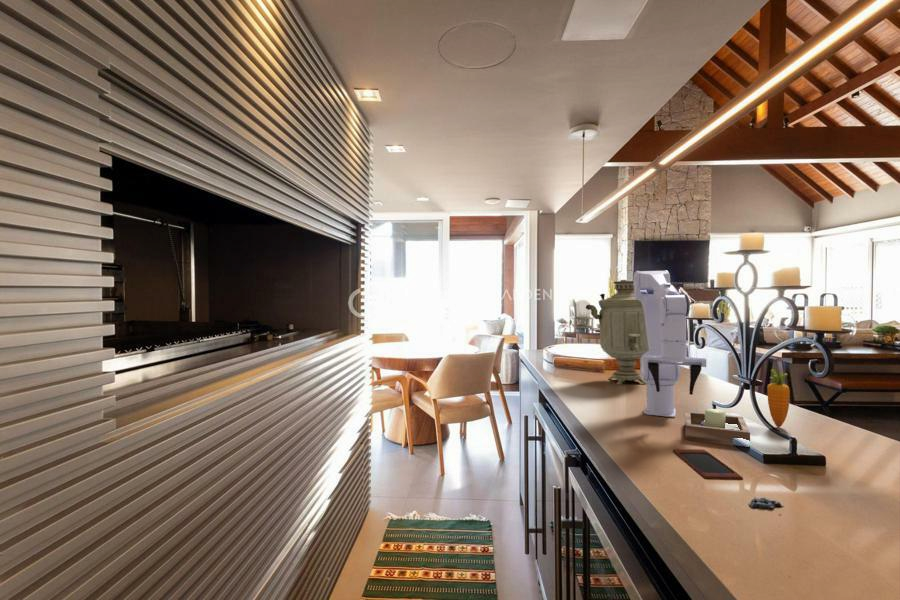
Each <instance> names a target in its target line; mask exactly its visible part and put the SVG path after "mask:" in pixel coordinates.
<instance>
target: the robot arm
mask: <svg viewBox="0 0 900 600" xmlns="http://www.w3.org/2000/svg"><path fill="white" fill-rule="evenodd" d="M632 281H633V285H634V290H633V293H634V294H635V296H636V299H637V300H639V301H640V302H641V303H642V306H643V310H644V317H645V325H646V332H647V339H648V347H649V351H647V352H646V353H644V354H643V355H642V357H641V358H640V367H639V368H640V374H641V377H642V379H643V380H644V381H645V382H646V405H645V406H646V407H645V409H644V415H648V416H658V417H659V416H660V417H668V418H675V417H676V412H677V411H676V410H677V409H676V408H675V402H674V401H675V398H674V397H675V396H674V395H675V393H674V390H675V388H674V387H675V386H674V385H676V384H677V383H678V381H679V380H680V378H681V366H689V377H690V381H689V389H688V390H689V395H694V394H693V393H694V388H695V385H696V382H697V379H698V378H699V375H700V374H701V371H702V368H707V358H704V357H703V358H701V357H692V356H691V357H690V356H687V317H689V315H690V310H691V302H690V298H689V296H688V294H686V293H684V294H680V293H679V291H678V290H677V288H676V287H675V286H674V285H673V284H671V275H670V272H669V271H668V270H666V269H665V270H644V271H643V270H641V271H640V270H636V271H635V272H634V274H633V280H632Z"/></svg>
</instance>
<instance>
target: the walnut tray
mask: <svg viewBox="0 0 900 600" xmlns="http://www.w3.org/2000/svg"><path fill="white" fill-rule="evenodd" d="M684 414H685V415H684V420H685V421H684V422H685V423H684V425H685V426H684V427H685V428H684V431H685V435H684V436H685V441H692V442H701V443H708V444H717V445H724V446H731V447H735V446H734V444H733V441H732V440H733V438H743V439H746V440H749V441H750V442H751V432H750V429H749V428H748V425H747V423H746V421H745V419H744V417H743V416H738V415H737V416H736V415H726V414H725V423H728V424H737V425H738V427H739V429H740V430H734V429H725V428H716V427H707V426H705V425H703V424H701V422H702V421H704V420H705V412H697V411H696V412H695V411H688V410H687V411H686V410H685V412H684Z"/></svg>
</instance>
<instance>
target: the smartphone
mask: <svg viewBox="0 0 900 600" xmlns="http://www.w3.org/2000/svg"><path fill="white" fill-rule="evenodd" d="M672 452H673V453H674V454H675V455H676V456H677V457H678V458H680V459H681V460H682V461H683V462H684V463H685V464H687V465H688V466H689V467H690V468H691V469H692V470H694V471H695V472H696V473H697V474H699V476H701V477H702V479H703V478H704V479H705V480H725V481H727V480H728V481H729V480H730V481H732V480H733V481H736V480H737V481H742V480H743V479H744V478H743V476H741V475H740V474H739V473H738V472H737V471H735V470H734V469H732V468H731V467H729V466H728V465H727V464H726V463H724V462H723V461H722V460H720V459H719V458H718V457H716V456H714V455H713V454H711V453H710V452H708V451H707V450H705V449H698V448H697V449H691V448H690V449H686V448H685V449H684V448H683V449H682V448H679V449H678V448H676V449H675V448H674V449H672Z"/></svg>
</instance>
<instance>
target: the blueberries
mask: <svg viewBox="0 0 900 600" xmlns="http://www.w3.org/2000/svg"><path fill="white" fill-rule="evenodd" d="M748 507H749V508H750V509H754V510H758V509H759V510H767V511H774V510H775V509H781V508H785V506H784V505H782V504H781V502H780V501H777V500H773V499H771V498H766V497H754V498H752V499H751V502H749V503H748ZM778 515H779V516H781V514H779V513H778Z"/></svg>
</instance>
